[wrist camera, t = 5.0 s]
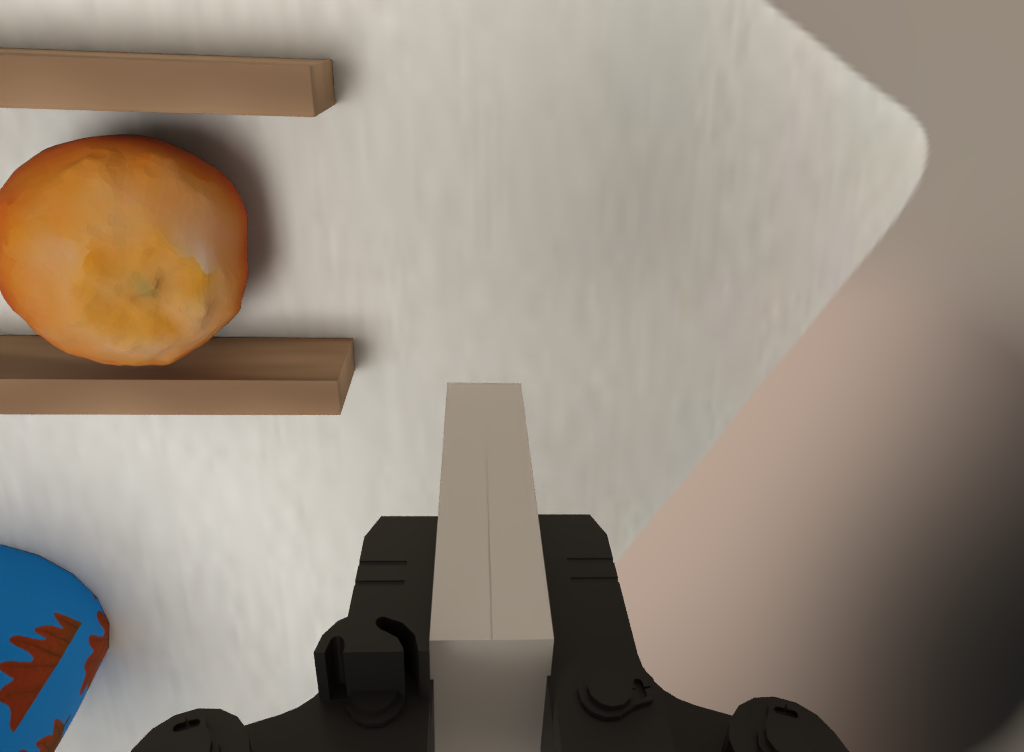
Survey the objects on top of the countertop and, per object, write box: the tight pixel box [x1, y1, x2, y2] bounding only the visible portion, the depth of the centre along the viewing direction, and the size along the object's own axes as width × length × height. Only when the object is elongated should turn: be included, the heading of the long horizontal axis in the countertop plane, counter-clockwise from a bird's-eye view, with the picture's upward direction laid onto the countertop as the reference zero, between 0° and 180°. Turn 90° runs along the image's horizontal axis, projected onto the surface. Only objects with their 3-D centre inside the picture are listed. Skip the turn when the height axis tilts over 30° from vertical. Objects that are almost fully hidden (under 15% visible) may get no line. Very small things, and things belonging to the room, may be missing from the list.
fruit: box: [0, 135, 248, 366], centre depth 25 cm, size 8×8×8 cm
